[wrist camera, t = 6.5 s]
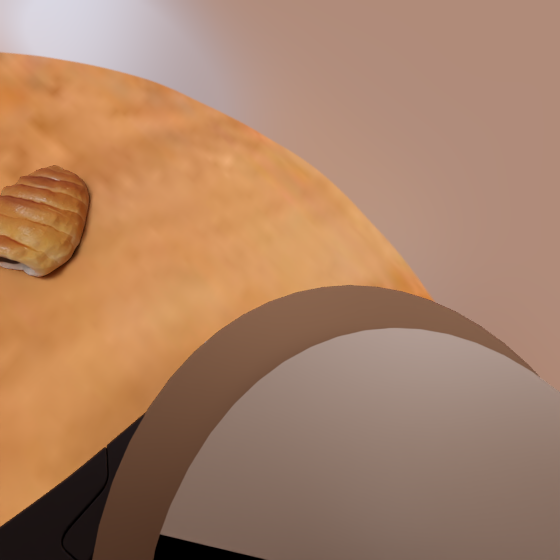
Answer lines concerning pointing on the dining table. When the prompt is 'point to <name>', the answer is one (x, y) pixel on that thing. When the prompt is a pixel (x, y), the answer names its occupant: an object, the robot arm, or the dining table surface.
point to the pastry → (42, 220)
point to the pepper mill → (343, 441)
